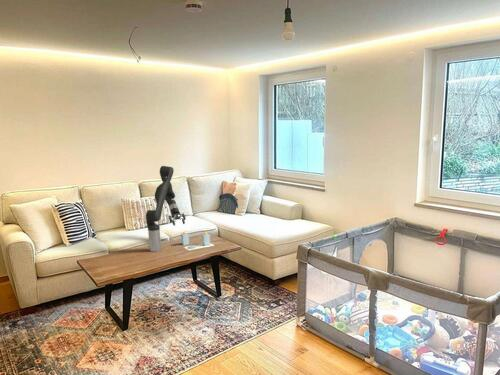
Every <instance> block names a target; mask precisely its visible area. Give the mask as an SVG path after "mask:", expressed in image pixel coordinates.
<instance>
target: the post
mask: <svg viewBox="0 0 500 375" xmlns="http://www.w3.org/2000/svg"><path fill="white" fill-rule="evenodd" d="M204 233H205V232H204ZM204 233H201V241H202V242H201V244H202V245H204V246H208V245H210V243H211V235H210V234H211V233H208V232H207V234H205V235H204Z"/></svg>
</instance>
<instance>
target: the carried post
mask: <svg viewBox="0 0 500 375" xmlns="http://www.w3.org/2000/svg"><path fill="white" fill-rule="evenodd" d="M183 233H184V232H183ZM183 233H180V238H181V240H180V241H181V244H182V245H183V246H187V245H190V237H189V235H190V234H189V232H188V233H187V232H186V233H187V234H183Z"/></svg>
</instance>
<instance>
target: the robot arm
mask: <svg viewBox="0 0 500 375" xmlns="http://www.w3.org/2000/svg"><path fill="white" fill-rule="evenodd" d="M159 175H160V176H159V177H160V179H161V181H162V183H160V184H159V185H158V186H157V187H156V189H155V191H154V199H155V202H156V207H155V209H154V210H153V209H151V210H150V209H148V210H147V211H146V212H145V221H146V227H147V231H148V232H147V233H148V239H147V240H148V241H147V242H148V250H149V252H150V253H151V252H159V251H161V250H162V244H161V243H162V241H161V230H160V229H161V227H160V225H159V224H156V223H155V222H159V221H160V220H161V217H162V213H163V207H164V203H165V202H166V203H167V204H168V207H169V211H170V214H169V215H168V220H169V223H172V225H173V226H174V227H175V226H176V222H175V221H176V220H180V221H182V225H185V223H186V216H185V214H184V213H180V210H179V207H178V205H177V202H176V200H175V198H176V194H175V192H174V190H173V185H172V183H171V181H172V178H173V176H174V168H173V167H172V166H167V165H161V167H160V168H159Z"/></svg>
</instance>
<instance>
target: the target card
mask: <svg viewBox="0 0 500 375" xmlns="http://www.w3.org/2000/svg"><path fill="white" fill-rule="evenodd" d="M214 246H215V244H213V243H211V242H210V245H208V246H204V245H202V243H201V244H200V243H199V244H193V245H188V246H187V245H186V246H183V248H184V249H186V250H187V251H193V250H198V249H203V248H208V247H209V248H210V247H214Z"/></svg>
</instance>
